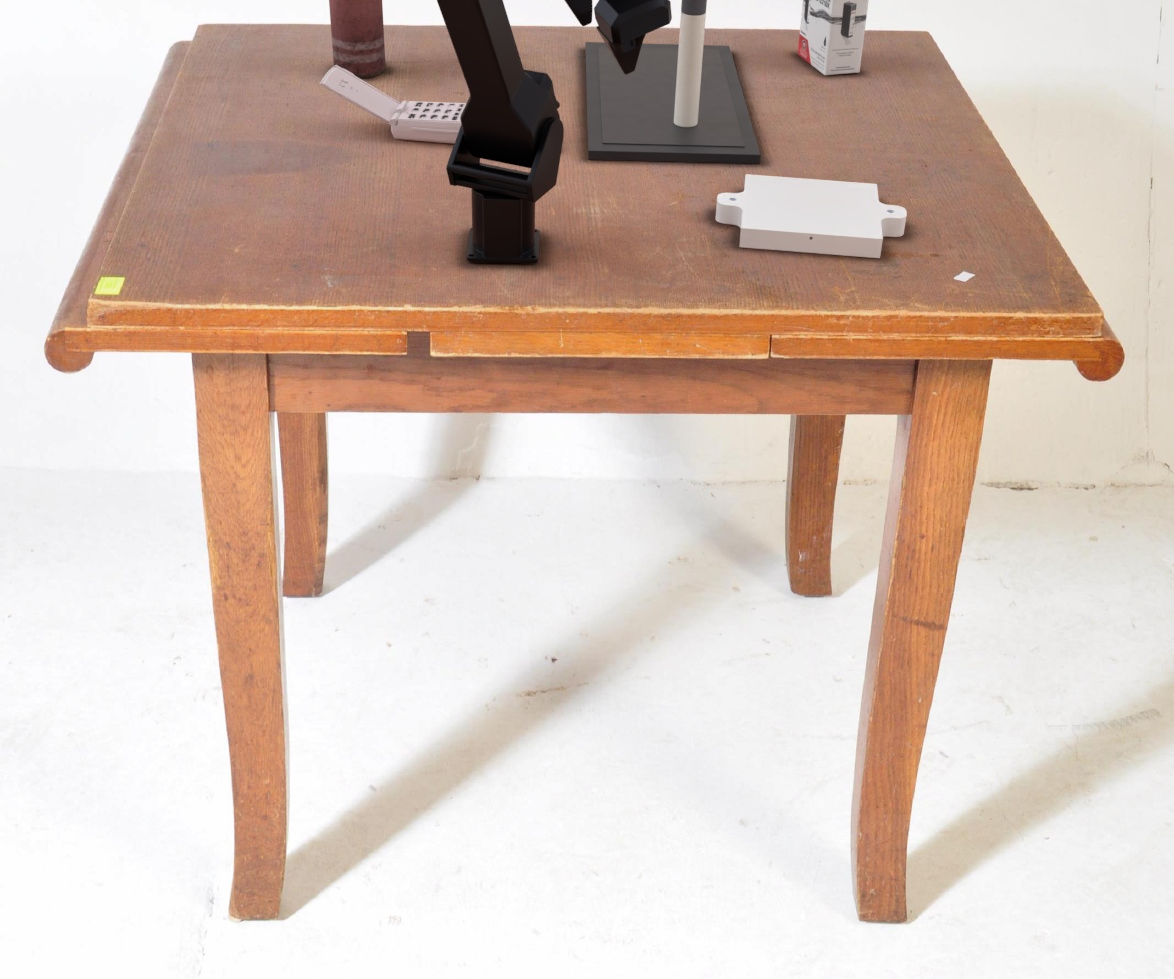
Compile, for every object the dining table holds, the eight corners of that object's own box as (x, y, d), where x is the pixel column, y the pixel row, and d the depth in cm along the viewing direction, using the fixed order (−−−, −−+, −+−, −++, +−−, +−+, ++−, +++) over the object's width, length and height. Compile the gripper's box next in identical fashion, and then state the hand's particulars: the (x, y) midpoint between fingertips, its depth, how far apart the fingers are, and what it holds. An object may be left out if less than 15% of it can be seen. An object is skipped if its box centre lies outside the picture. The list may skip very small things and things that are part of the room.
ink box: (795, 54, 180) (805, -43, 174) (830, 51, 182) (843, -45, 175) (823, 76, 174) (836, -24, 167) (860, 73, 175) (874, -26, 168)
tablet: (759, 164, 150) (760, 154, 150) (588, 159, 150) (588, 149, 149) (728, 53, 180) (729, 45, 179) (585, 50, 180) (585, 41, 179)
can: (325, 65, 172) (316, -56, 164) (376, 60, 174) (369, -60, 166) (340, 82, 167) (331, -42, 159) (392, 75, 170) (386, -47, 162)
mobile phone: (331, 63, 155) (561, 78, 152) (335, 116, 158) (560, 132, 156) (315, 83, 150) (552, 99, 148) (320, 137, 153) (552, 153, 151)
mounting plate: (712, 245, 134) (713, 226, 133) (718, 190, 144) (720, 172, 143) (907, 260, 132) (910, 241, 131) (899, 204, 143) (902, 186, 142)
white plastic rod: (702, 125, 156) (712, -6, 148) (682, 129, 155) (692, -3, 147) (688, 117, 158) (697, -13, 150) (668, 121, 157) (677, -9, 149)
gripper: (717, -79, 126) (725, 66, 138) (618, -171, 136) (634, -29, 149) (605, -32, 124) (624, 111, 137) (514, -129, 134) (539, 12, 147)
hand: (607, 47), depth 142 cm, fingers open, 9 cm apart
